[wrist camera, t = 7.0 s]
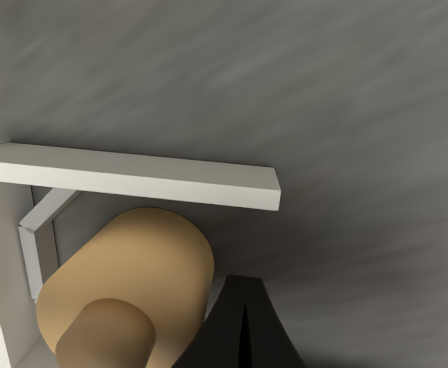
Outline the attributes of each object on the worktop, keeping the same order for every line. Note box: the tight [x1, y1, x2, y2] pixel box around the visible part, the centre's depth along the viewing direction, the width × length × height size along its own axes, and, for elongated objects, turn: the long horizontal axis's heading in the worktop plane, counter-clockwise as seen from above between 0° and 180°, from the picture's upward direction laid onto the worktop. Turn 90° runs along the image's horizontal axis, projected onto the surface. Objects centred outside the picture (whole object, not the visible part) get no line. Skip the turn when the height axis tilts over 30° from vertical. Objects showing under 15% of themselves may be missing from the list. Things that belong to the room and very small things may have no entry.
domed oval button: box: [36, 207, 214, 368], centre depth 9 cm, size 5×5×4 cm
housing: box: [0, 142, 281, 368], centre depth 12 cm, size 18×10×2 cm, turn 176°
